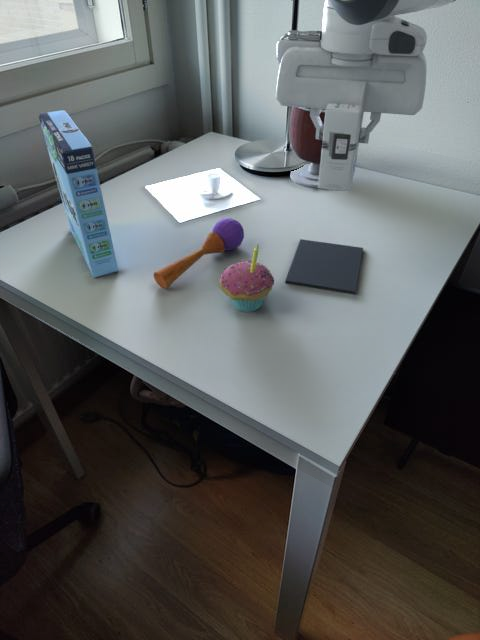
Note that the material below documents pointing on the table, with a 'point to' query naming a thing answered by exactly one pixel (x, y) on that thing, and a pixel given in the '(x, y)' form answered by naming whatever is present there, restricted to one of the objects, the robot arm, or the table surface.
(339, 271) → the slate mat
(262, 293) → the cupcake
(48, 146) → the gum box
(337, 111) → the ink box
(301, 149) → the mate gourd
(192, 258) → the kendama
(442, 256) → the table surface
